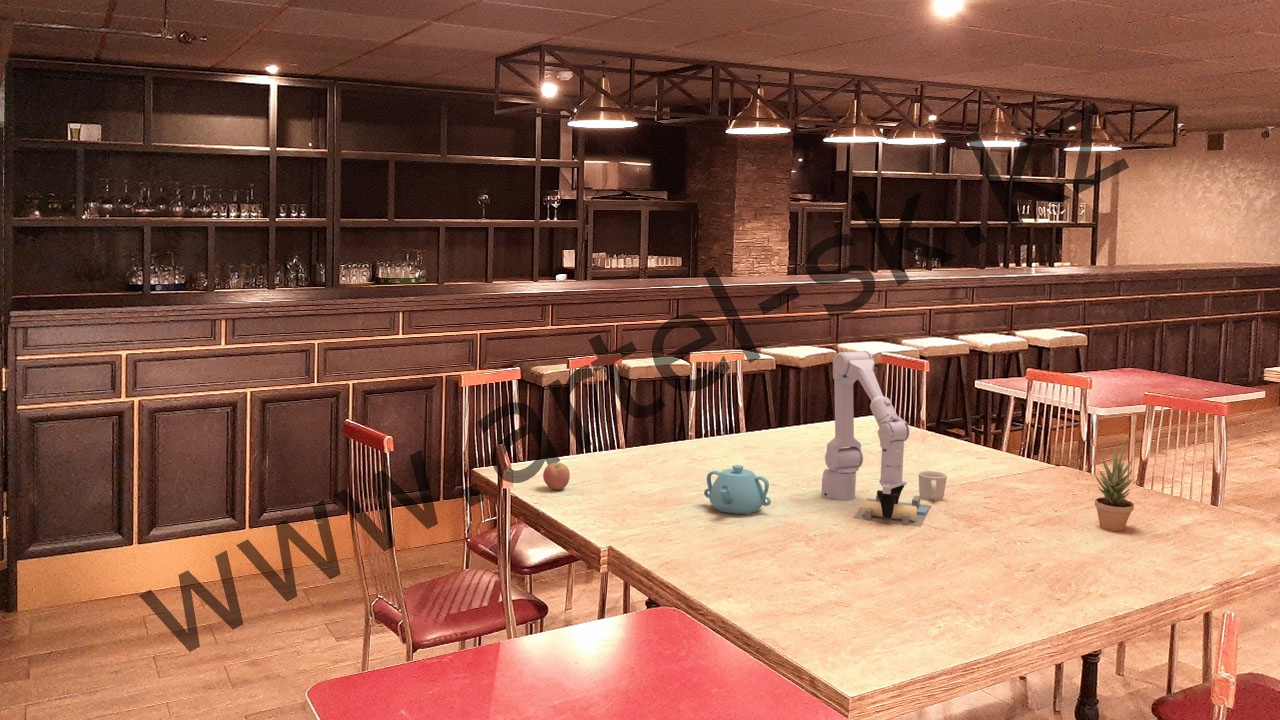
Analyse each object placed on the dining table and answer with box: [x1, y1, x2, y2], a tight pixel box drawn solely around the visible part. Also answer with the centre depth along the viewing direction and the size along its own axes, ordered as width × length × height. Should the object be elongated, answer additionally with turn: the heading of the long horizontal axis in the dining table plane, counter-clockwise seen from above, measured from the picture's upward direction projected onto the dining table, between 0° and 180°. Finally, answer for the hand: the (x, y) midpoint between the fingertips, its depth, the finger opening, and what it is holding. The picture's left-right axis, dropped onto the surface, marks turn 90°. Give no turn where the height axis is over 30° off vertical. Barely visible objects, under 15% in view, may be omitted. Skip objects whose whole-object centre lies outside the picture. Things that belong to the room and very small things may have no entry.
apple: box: [542, 462, 571, 491], centre depth 306 cm, size 8×8×8 cm
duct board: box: [852, 494, 932, 528], centre depth 285 cm, size 18×22×3 cm
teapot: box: [703, 464, 772, 516], centre depth 285 cm, size 20×20×13 cm
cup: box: [918, 470, 948, 502], centre depth 299 cm, size 11×8×8 cm
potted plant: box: [1094, 438, 1135, 532], centre depth 275 cm, size 10×10×25 cm
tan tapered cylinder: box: [861, 499, 917, 521], centre depth 279 cm, size 14×4×4 cm, turn 67°
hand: (889, 513), depth 279 cm, fingers open, 7 cm apart
